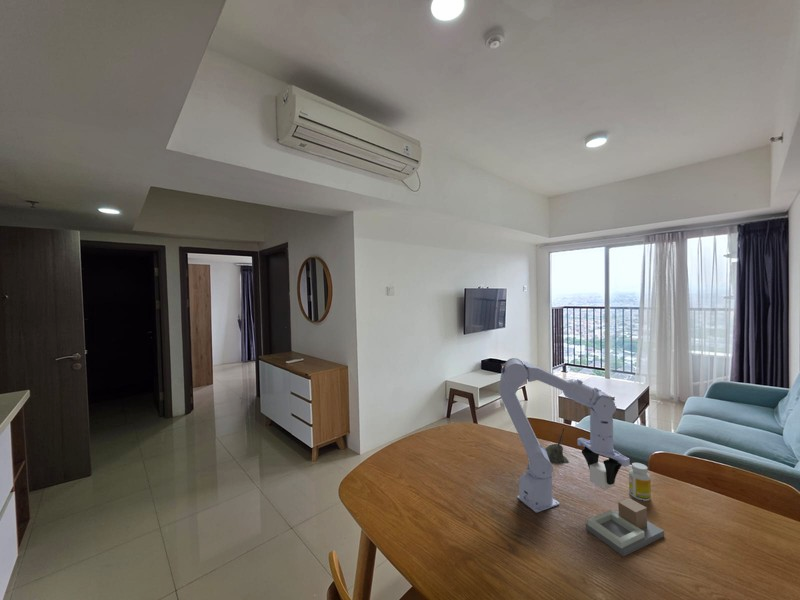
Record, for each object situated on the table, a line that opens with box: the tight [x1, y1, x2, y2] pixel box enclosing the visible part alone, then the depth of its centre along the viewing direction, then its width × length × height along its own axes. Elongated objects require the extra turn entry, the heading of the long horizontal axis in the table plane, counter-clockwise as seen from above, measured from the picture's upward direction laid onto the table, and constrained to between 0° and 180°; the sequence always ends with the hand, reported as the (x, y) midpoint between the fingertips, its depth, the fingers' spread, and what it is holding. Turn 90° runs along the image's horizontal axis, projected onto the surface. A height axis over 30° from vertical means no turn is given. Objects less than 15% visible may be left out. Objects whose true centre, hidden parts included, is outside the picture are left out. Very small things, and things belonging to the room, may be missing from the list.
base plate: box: [585, 497, 665, 557], centre depth 84 cm, size 16×10×6 cm, turn 112°
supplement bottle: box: [628, 462, 652, 502], centre depth 99 cm, size 5×5×10 cm
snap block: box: [589, 461, 616, 491], centre depth 94 cm, size 4×4×5 cm
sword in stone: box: [544, 427, 570, 464], centre depth 123 cm, size 10×8×12 cm
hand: (602, 478), depth 94 cm, fingers closed on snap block, 4 cm apart
